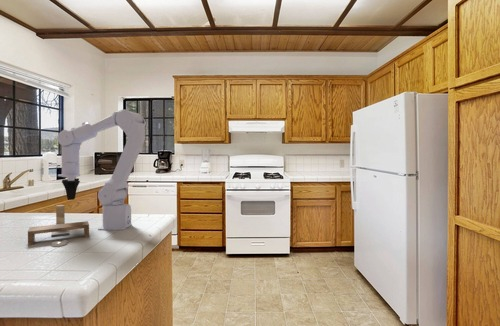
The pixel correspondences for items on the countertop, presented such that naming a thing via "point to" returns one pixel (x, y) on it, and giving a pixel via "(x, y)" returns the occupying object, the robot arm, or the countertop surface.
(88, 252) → the countertop surface
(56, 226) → the brown wooden bridge
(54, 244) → the silver flat dome
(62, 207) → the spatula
